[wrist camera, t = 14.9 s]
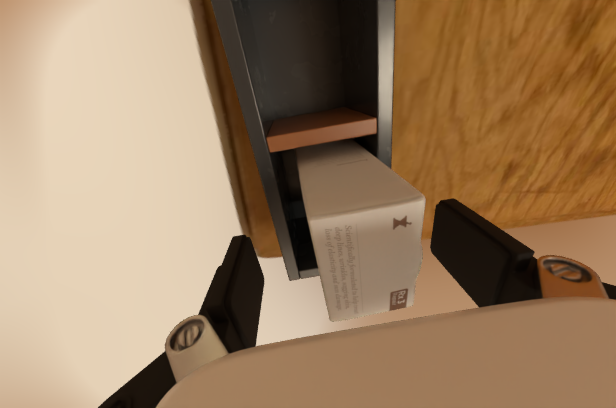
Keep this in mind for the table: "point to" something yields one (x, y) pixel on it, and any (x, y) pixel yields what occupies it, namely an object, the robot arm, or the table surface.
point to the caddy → (308, 93)
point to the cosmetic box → (361, 228)
